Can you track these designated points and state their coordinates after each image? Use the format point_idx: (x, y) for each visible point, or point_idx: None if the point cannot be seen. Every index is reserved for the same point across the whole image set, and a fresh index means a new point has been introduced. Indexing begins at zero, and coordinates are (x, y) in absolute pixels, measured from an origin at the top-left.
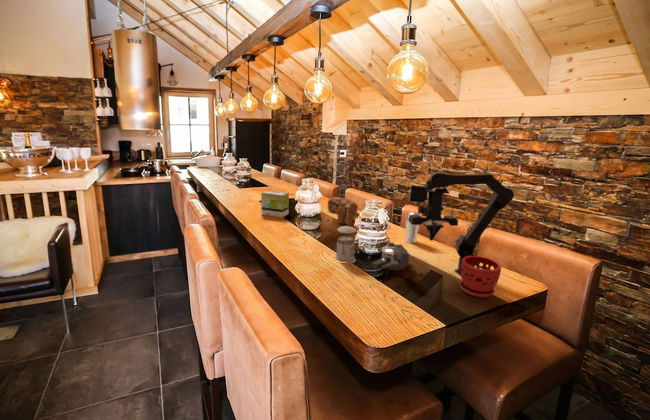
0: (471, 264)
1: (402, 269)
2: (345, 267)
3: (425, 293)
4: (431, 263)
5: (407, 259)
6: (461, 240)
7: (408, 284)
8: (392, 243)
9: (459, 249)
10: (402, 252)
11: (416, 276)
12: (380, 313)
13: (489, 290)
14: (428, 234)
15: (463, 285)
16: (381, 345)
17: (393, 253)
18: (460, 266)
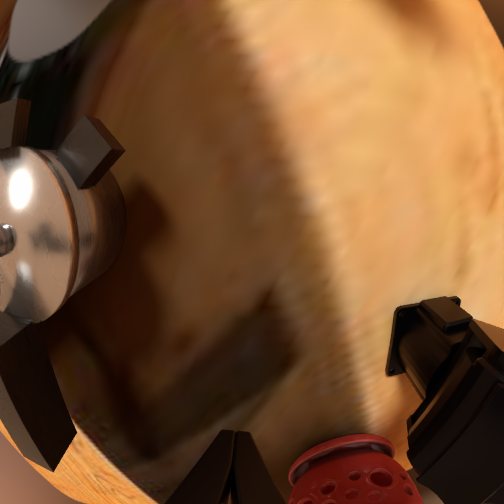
0: (373, 493)
1: (104, 272)
2: None
3: (160, 454)
4: (323, 185)
5: (60, 451)
6: (465, 489)
7: (112, 404)
8: (6, 122)
9: (415, 468)
10: (24, 449)
11: (156, 355)
12: (60, 465)
13: (347, 497)
14: (184, 486)
15: (310, 458)
16: (77, 500)
17: (2, 307)
18: (410, 364)
